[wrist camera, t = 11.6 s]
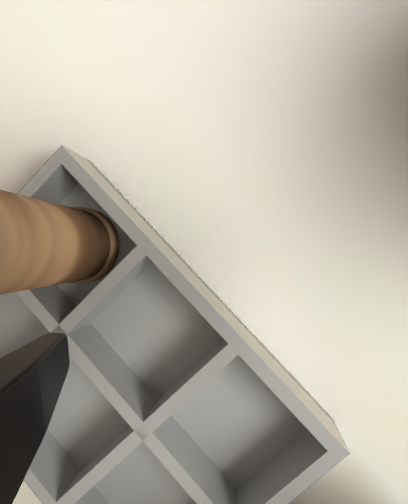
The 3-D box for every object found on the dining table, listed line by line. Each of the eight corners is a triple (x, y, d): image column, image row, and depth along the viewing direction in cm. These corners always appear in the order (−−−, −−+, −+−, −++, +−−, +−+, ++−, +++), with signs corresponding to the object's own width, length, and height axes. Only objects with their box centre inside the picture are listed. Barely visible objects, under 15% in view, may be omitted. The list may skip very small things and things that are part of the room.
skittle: (125, 215, 22) (-106, 148, 8) (112, 288, 22) (-138, 357, 8) (57, 203, 23) (-268, 122, 8) (45, 274, 23) (-295, 313, 9)
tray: (332, 419, 20) (349, 453, 17) (157, 567, 22) (139, 626, 19) (90, 161, 23) (61, 145, 19) (-52, 313, 25) (-101, 323, 21)
